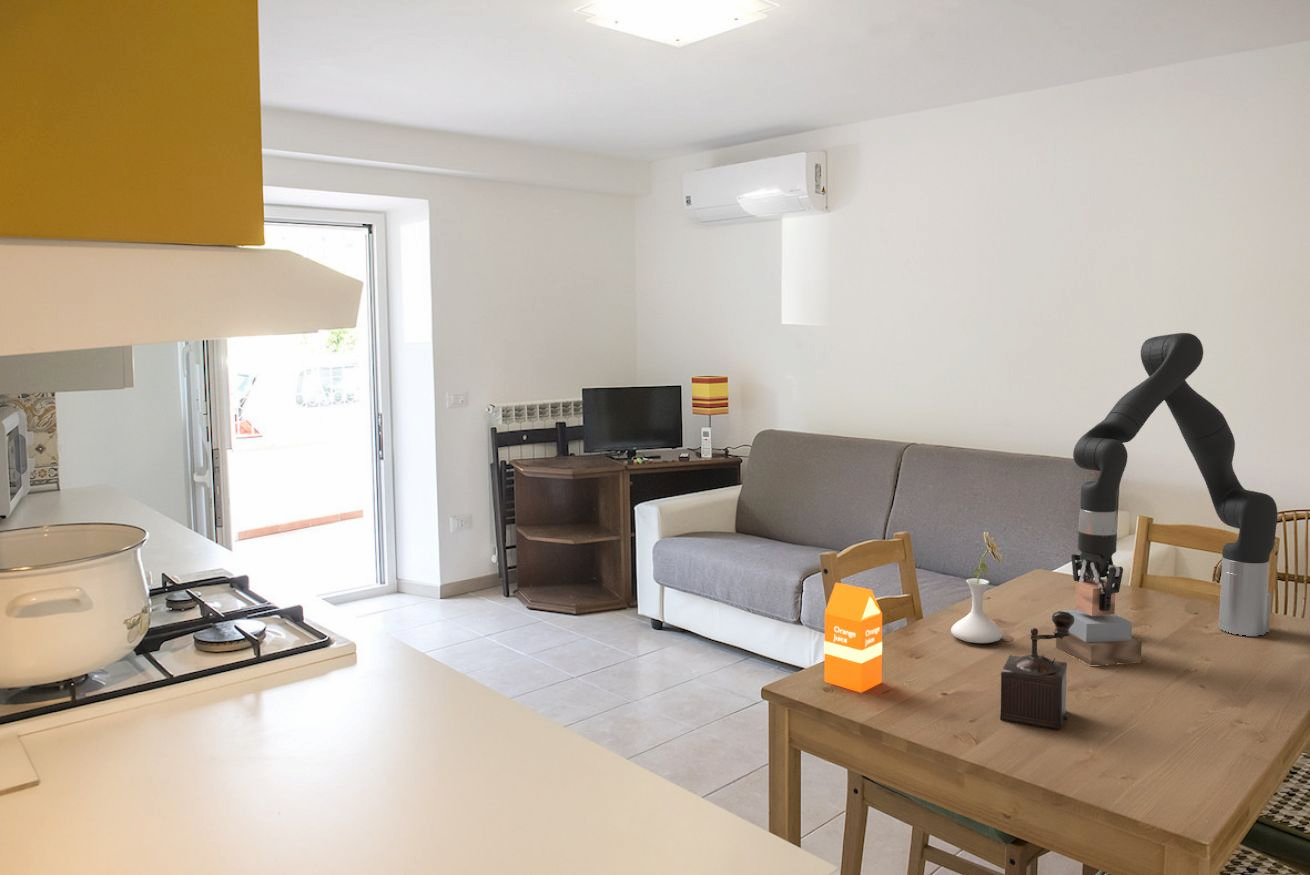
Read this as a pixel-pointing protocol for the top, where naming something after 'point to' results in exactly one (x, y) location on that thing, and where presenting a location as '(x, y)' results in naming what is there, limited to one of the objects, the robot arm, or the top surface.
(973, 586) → the flower in vase
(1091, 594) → the terracotta block
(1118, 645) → the walnut base block
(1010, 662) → the coffee grinder
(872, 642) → the orange juice
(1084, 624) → the grey top block
